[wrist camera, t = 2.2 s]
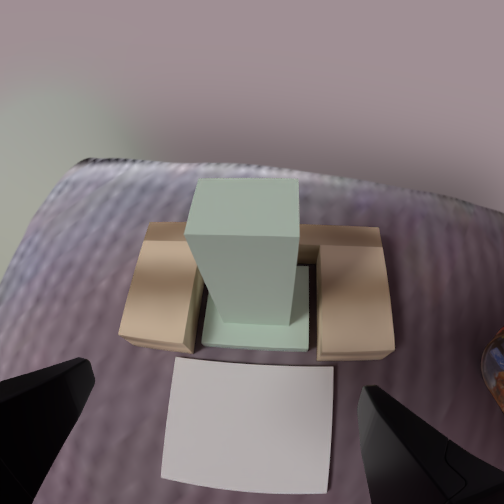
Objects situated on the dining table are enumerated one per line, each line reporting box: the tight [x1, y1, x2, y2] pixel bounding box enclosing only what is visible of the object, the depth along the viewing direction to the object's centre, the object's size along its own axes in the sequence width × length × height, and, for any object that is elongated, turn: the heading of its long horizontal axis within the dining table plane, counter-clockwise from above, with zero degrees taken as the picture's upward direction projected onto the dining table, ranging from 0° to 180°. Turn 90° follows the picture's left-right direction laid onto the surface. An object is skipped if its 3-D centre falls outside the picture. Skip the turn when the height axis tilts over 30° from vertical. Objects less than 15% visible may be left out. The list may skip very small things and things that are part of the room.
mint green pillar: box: [184, 178, 309, 352], centre depth 19 cm, size 7×8×12 cm
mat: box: [161, 357, 333, 494], centre depth 19 cm, size 10×12×1 cm
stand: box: [118, 222, 395, 361], centre depth 23 cm, size 10×20×3 cm, turn 85°
